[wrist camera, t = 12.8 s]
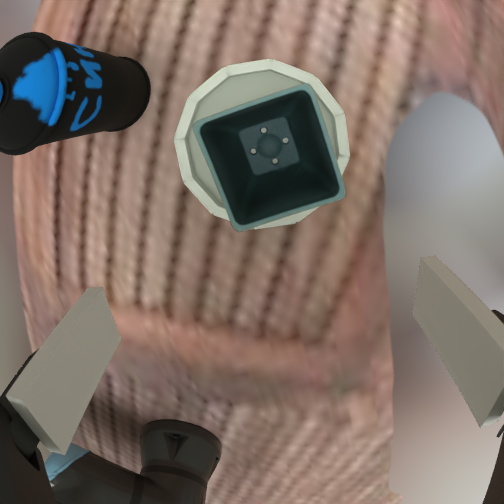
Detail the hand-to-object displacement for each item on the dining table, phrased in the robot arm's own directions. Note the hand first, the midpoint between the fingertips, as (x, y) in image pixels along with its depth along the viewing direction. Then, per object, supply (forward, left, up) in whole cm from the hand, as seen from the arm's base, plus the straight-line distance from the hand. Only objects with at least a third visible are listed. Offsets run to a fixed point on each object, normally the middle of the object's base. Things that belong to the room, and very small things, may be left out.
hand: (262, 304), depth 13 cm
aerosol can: (-5, +18, -22) cm, 29 cm away
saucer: (+3, +3, -22) cm, 22 cm away
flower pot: (+3, +3, -21) cm, 21 cm away
